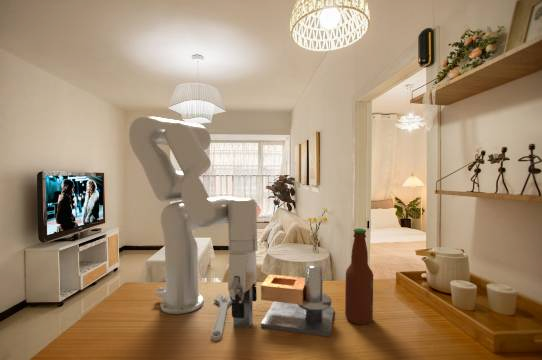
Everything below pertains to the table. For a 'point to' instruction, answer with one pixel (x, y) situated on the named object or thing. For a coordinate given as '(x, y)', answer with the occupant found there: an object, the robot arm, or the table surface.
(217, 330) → the adjustable wrench
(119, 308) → the table surface
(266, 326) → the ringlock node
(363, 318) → the bottle
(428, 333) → the table surface
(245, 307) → the grey rectangular block
